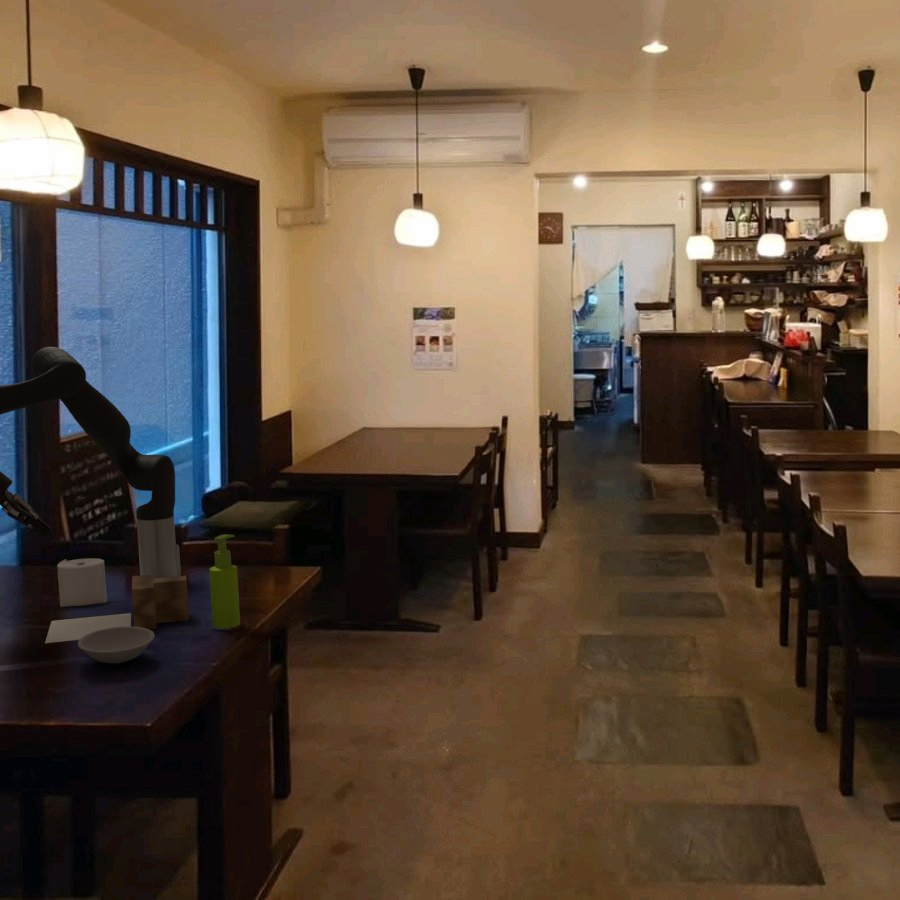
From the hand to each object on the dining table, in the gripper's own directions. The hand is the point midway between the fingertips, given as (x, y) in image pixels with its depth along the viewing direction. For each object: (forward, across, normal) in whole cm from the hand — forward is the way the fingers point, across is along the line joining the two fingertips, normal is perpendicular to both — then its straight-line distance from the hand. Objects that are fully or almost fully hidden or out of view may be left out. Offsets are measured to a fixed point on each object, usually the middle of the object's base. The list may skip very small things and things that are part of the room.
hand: (48, 532), depth 233 cm
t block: (+31, +3, +1) cm, 31 cm away
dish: (+25, +29, -6) cm, 39 cm away
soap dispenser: (+41, +10, +10) cm, 44 cm away
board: (+25, +4, -6) cm, 26 cm away
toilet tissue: (+18, -23, -13) cm, 32 cm away
